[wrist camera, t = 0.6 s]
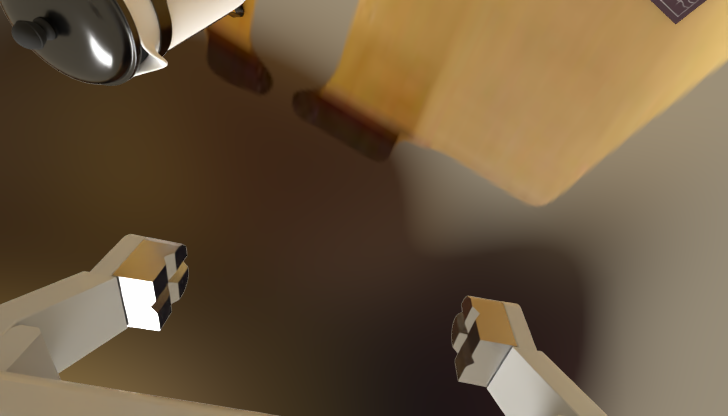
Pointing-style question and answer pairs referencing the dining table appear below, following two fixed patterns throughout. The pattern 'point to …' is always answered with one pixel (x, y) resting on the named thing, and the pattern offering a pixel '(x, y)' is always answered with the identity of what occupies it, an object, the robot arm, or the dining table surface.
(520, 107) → the dining table surface
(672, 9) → the chocolate bar
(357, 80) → the dining table surface
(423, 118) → the dining table surface
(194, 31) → the coffee press
